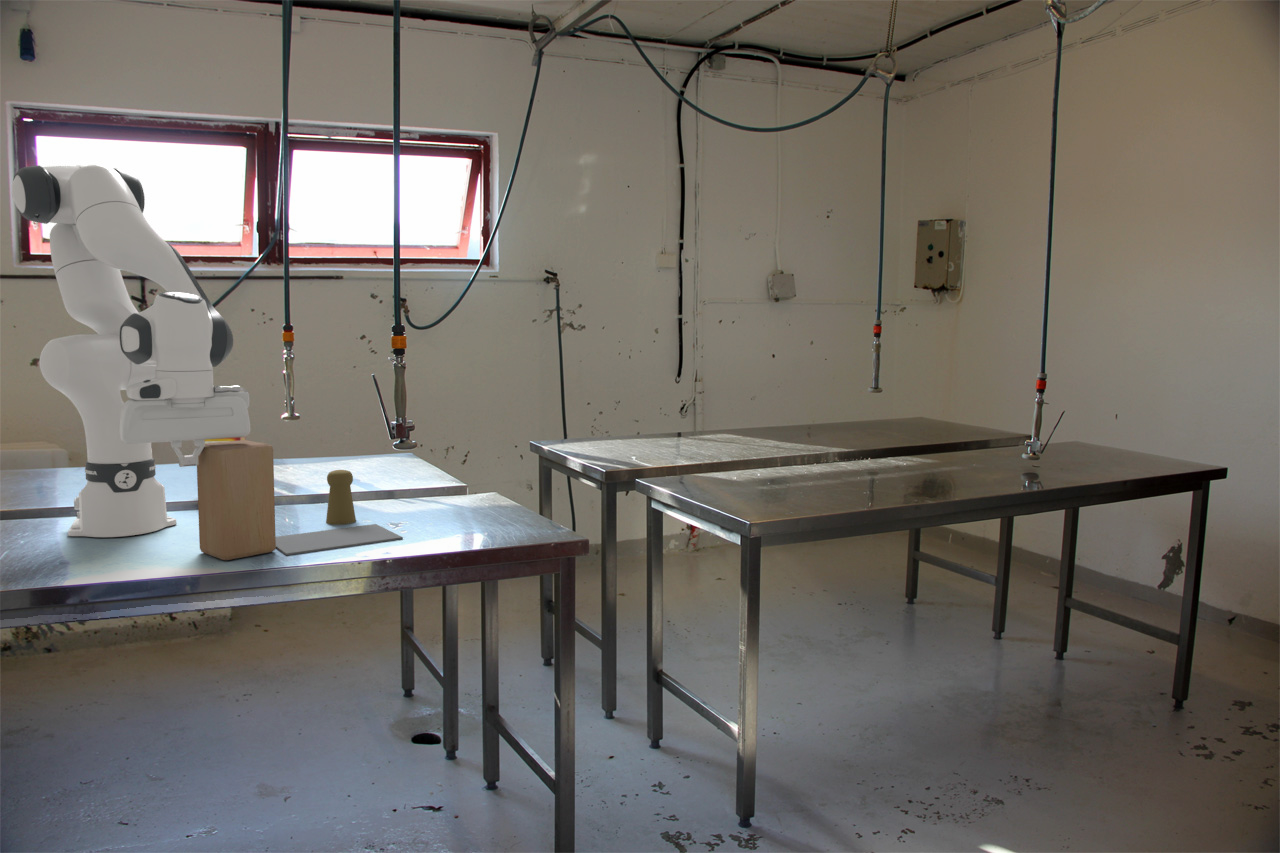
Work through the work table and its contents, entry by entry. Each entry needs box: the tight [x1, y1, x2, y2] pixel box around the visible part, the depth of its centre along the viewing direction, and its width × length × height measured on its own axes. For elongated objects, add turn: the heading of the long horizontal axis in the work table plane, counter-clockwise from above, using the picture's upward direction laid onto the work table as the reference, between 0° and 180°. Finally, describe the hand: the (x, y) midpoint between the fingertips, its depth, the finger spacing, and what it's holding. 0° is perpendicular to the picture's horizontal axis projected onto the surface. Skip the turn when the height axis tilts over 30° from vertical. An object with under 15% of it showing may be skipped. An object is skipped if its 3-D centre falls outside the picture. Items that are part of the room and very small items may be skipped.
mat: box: [275, 523, 404, 557], centre depth 171 cm, size 14×22×1 cm, turn 128°
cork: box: [325, 469, 357, 526], centre depth 186 cm, size 6×6×11 cm
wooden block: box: [196, 439, 276, 562], centre depth 159 cm, size 10×10×20 cm
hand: (188, 465), depth 154 cm, fingers closed
